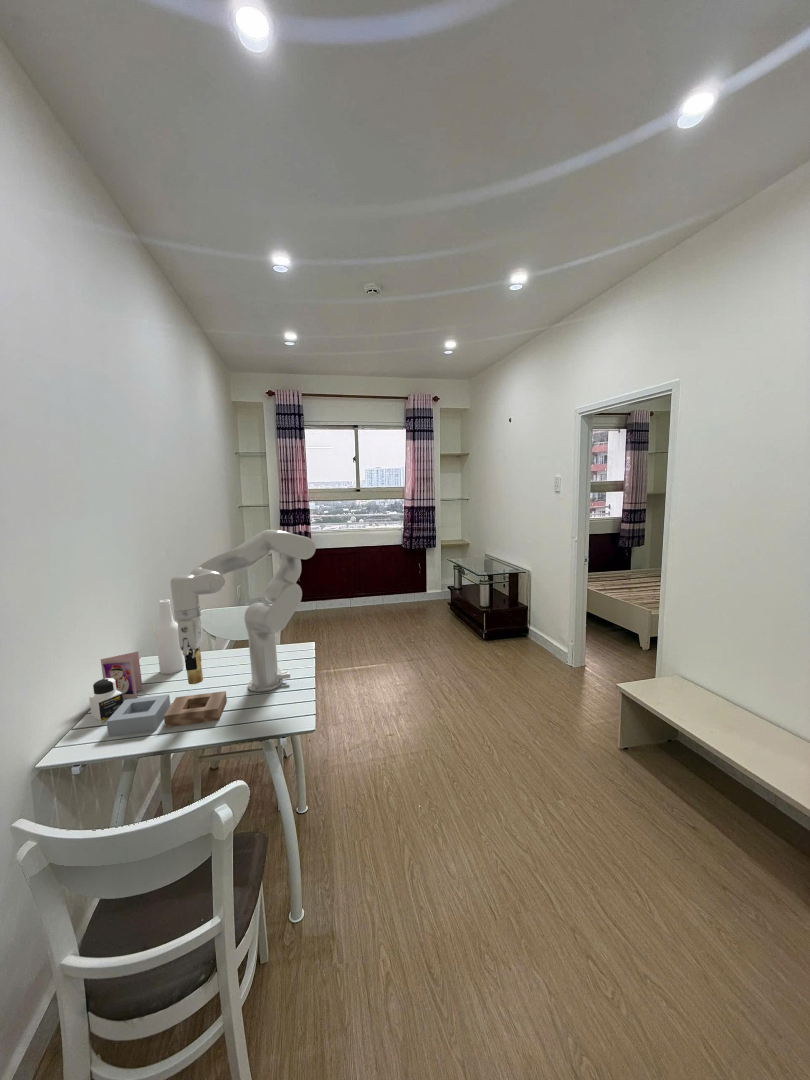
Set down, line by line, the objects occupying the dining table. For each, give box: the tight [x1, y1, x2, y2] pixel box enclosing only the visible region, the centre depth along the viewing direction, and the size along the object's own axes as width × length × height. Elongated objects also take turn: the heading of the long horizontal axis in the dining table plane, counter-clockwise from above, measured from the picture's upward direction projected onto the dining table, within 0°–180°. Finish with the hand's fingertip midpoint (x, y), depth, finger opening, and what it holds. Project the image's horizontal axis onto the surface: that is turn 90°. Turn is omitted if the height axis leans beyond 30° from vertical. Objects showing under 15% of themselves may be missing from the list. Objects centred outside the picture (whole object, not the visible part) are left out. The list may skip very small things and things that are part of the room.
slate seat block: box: [105, 693, 171, 737], centre depth 135 cm, size 13×13×5 cm
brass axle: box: [186, 649, 204, 685], centre depth 137 cm, size 4×4×10 cm
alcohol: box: [155, 598, 185, 675], centre depth 172 cm, size 9×9×30 cm
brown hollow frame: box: [163, 690, 228, 728], centre depth 139 cm, size 16×12×4 cm
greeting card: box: [100, 651, 143, 699], centre depth 153 cm, size 11×7×15 cm, turn 90°
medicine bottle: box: [88, 678, 124, 722], centre depth 140 cm, size 7×7×12 cm
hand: (193, 665), depth 137 cm, fingers closed on brass axle, 4 cm apart
